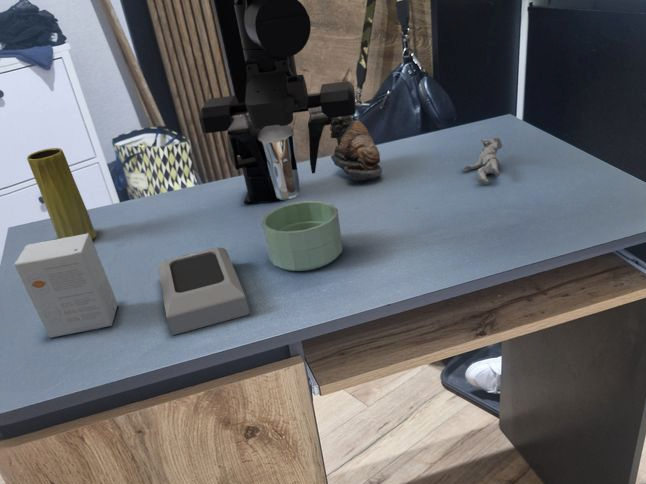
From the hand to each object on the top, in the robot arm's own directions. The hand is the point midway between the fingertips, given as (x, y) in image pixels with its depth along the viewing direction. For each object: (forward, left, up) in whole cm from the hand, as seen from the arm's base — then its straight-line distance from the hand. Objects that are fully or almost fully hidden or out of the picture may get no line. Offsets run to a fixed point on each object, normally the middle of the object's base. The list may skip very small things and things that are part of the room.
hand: (290, 175), depth 83 cm
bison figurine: (-30, +7, -12) cm, 33 cm away
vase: (-15, -39, -12) cm, 43 cm away
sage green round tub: (0, 0, -12) cm, 12 cm away
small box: (+12, -28, -12) cm, 33 cm away
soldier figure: (-24, +29, -12) cm, 40 cm away
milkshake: (0, 0, -3) cm, 3 cm away
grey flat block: (+9, -13, -12) cm, 20 cm away
